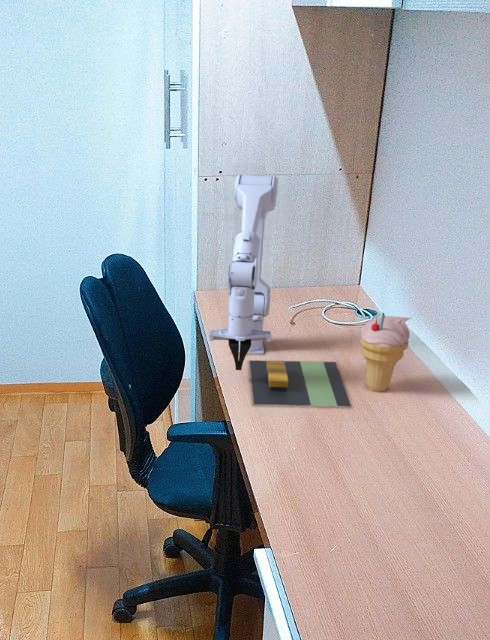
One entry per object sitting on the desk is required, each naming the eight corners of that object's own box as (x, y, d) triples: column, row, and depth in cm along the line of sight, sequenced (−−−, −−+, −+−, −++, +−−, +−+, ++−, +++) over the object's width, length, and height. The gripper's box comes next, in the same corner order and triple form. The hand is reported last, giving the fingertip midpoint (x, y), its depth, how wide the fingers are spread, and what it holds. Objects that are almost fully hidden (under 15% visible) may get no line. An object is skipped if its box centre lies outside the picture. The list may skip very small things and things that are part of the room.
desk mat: (249, 361, 189) (249, 360, 189) (334, 363, 189) (334, 362, 188) (254, 405, 167) (254, 404, 167) (350, 407, 166) (350, 406, 166)
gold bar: (265, 371, 183) (266, 361, 182) (283, 371, 183) (284, 361, 181) (268, 391, 173) (269, 380, 171) (287, 392, 173) (288, 381, 171)
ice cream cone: (401, 399, 170) (415, 316, 160) (353, 395, 172) (364, 312, 161) (399, 380, 179) (412, 301, 169) (353, 377, 181) (364, 297, 171)
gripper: (209, 319, 166) (208, 374, 173) (273, 320, 166) (269, 375, 173) (209, 309, 172) (208, 363, 179) (271, 310, 172) (267, 364, 179)
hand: (238, 368), depth 176 cm, fingers closed
